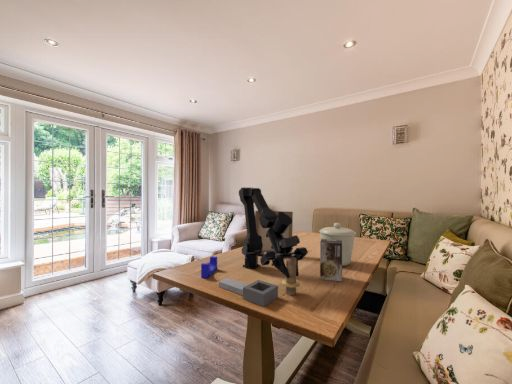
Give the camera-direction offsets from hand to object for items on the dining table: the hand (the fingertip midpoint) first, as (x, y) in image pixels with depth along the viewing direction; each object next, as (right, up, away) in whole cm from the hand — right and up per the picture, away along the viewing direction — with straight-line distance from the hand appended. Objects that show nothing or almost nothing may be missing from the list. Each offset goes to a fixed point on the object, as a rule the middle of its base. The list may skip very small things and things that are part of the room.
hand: (293, 276), depth 87 cm
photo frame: (-3, -6, +55) cm, 56 cm away
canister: (+28, -6, +38) cm, 48 cm away
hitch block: (-17, -6, +2) cm, 19 cm away
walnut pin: (-1, -7, +1) cm, 7 cm away
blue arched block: (-35, -6, +21) cm, 42 cm away
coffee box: (+19, -7, +17) cm, 26 cm away
